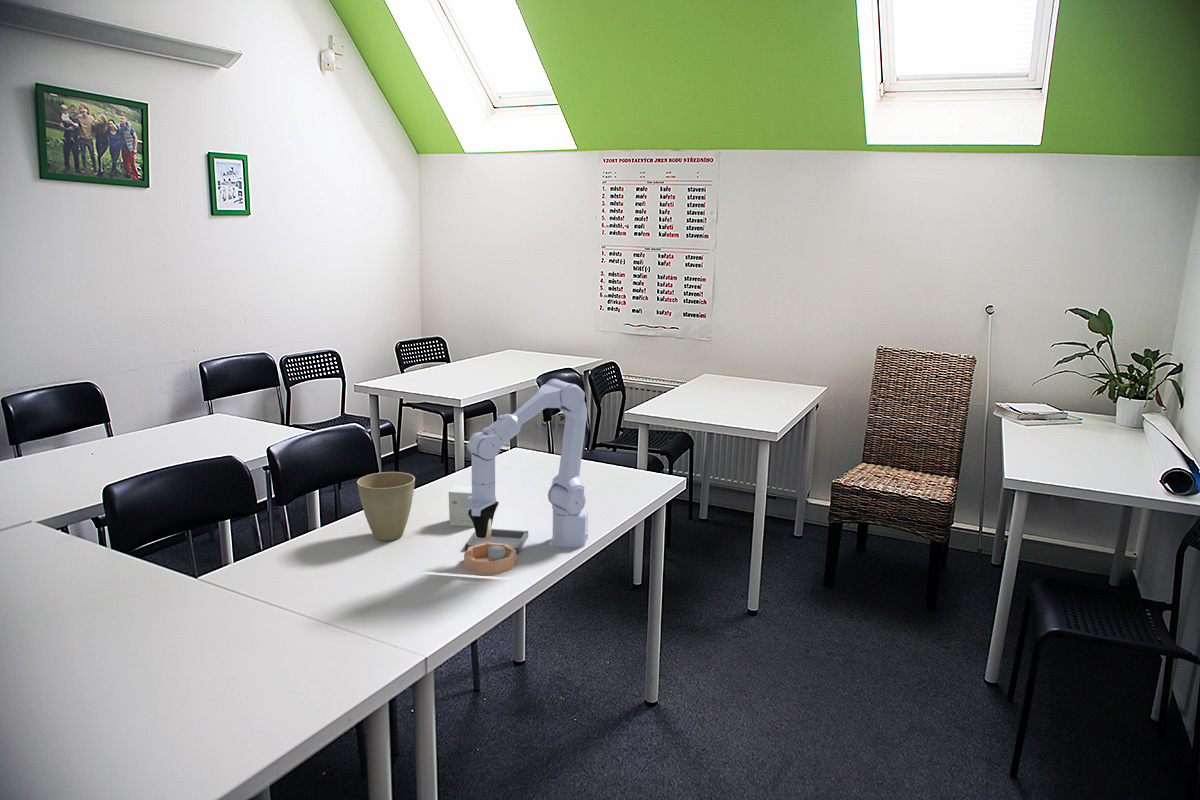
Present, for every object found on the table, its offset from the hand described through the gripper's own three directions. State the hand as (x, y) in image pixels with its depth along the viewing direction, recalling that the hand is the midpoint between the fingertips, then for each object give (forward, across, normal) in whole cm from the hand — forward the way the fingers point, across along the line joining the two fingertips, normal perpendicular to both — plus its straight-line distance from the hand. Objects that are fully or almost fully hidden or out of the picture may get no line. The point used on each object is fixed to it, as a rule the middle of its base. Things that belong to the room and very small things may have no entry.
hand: (483, 533), depth 193 cm
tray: (+8, -12, 0) cm, 14 cm away
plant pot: (+8, -13, -30) cm, 33 cm away
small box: (+8, -25, -12) cm, 28 cm away
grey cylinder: (+7, +3, +4) cm, 8 cm away
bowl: (+8, +1, +2) cm, 8 cm away
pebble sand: (+1, 0, 0) cm, 1 cm away
